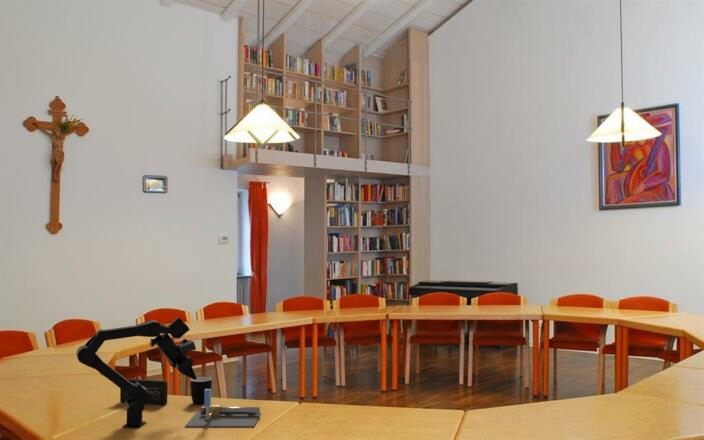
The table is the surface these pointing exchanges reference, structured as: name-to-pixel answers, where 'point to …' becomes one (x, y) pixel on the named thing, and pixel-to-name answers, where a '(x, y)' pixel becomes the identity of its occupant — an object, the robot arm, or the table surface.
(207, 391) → the valve lever
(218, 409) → the valve pipe
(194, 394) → the mug
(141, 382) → the nameplate
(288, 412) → the table surface
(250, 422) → the gray mounting plate
